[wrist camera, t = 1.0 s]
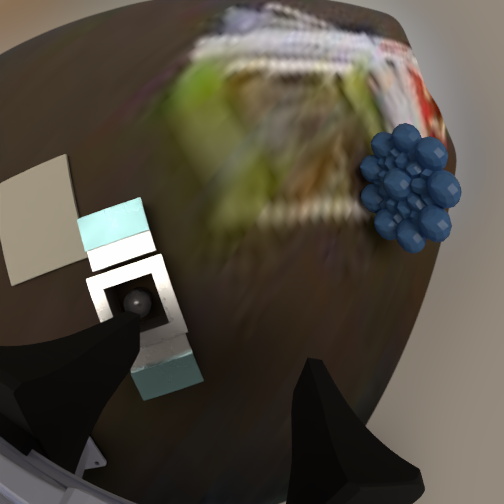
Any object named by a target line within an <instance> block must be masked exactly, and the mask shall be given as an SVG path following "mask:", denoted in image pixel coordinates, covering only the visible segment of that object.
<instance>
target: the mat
mask: <svg viewBox="0 0 504 504" xmlns="http://www.w3.org/2000/svg"><path fill="white" fill-rule="evenodd" d="M79 218H80V217H79V213H78V208H77V204H76V199H75V194H74V189H73V184H72V179H71V173H70V168H69V161H68V156H67V155H66V154H64V155H61V156H59V157H57V158H54V159H52V160H49V161H47V162H45V163H42V164H40V165H38V166H35V167H33V168H31V169H29V170H27V171H25V172H22V173H20V174H18V175H16V176H14V177H12V178H10V179H8V180H6V181H4V182H2V183H0V239H1V244H2V249H3V253H4V258H5V262H6V266H7V270H8V274H9V278H10V282H11V285H12V286H15V285H17V284H20V283H22V282H25V281H27V280H30V279H32V278H35V277H37V276H40V275H43V274H45V273H48V272H50V271H53V270H56V269H58V268H61V267H64V266H66V265H69V264H72V263H75V262H77V261H80V260H83V259H86V258H88V254H87V252H85V249H84V245H83V242H82V238H81V234H80V230H79V226H78V222H77V219H79Z"/></svg>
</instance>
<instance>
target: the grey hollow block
mask: <svg viewBox="0 0 504 504" xmlns="http://www.w3.org/2000/svg"><path fill="white" fill-rule="evenodd" d="M149 273H152V275H153V278H154V281H155V284H156V287H157V290H158V293H159V296H160V299H161V301H162V304H163V307H164V310H165V312H166V314H165V315H162V316H159V317H156V318H153V319H150V320H147V321H144V322H141V323H140V348H142V347H145V346H148V345H151V344H154V343H157V342H160V341H163V340H166V339H169V338H172V337H175V336H178V335H181V334H183V333H186V332H188V330H187V327H186V324H185V321H184V318H183V315H182V312H181V310H180V307H179V304H178V301H177V299H176V296H175V293H174V290H173V287H172V284H171V281H170V278H169V275H168V272H167V269H166V266H165V263H164V260H163V257H162V254H159V255H156V256H153V257H150V258H147V259H144V260H141V261H138V262H135V263H132V264H129V265H126V266H123V267H120V268H117V269H114V270H111V271H108V272H106V273H103V274H100V275H97V276H94V277H91V278H88V279H86V282H87V285H88V288H89V291H90V294H91V297H92V300H93V302H94V305H95V308H96V311H97V314H98V316H99V319H100V322H104V321H106V320H108V319H110V318H112V317H114V316H116V315H119V314H121V313H123V311H122V309H121V306H120V303H119V300H118V297H117V295H116V292H115V289H114V285H117V284H120V283H123V282H126V281H129V280H132V279H135V278H137V277H140V276H143V275H146V274H149Z"/></svg>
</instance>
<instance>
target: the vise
mask: <svg viewBox="0 0 504 504" xmlns="http://www.w3.org/2000/svg"><path fill="white" fill-rule="evenodd" d="M77 222H78V226H79V230H80V234H81V238H82V242H83V245H84V249H85V252H87V254H88V257H89V261H90V264H91V267H92V270H93V272H94V271H100V270H103V269H106V268H109V267H112V266H115V265H117V264H120V263H123V262H126V261H129V260H132V259H135V258H138V257H141V256H144V255H147V254H150V253H153V252H156V251H157V250H156V247H155V244H154V241H153V237H152V234H151V231H150V227H149V224H148V220H147V217H146V213H145V210H144V206H143V203H142V201H141V198H137V199H134V200H131V201H128V202H125V203H122V204H119V205H116V206H113V207H110V208H107V209H104V210H101V211H99V212H96V213H93V214H90V215H88V216H85V217H82V218H79V219H77ZM152 302H153V297H152V294H151V292H150V291H149V290H148V289H147V288H145V287H136V288H134V289H133V290H132V291H130V292H129V293H128V294H127V295H126V297H125V299H124V309H125V311H131V312H134V313H137V314H140V318H143V317H145V316H146V315H147V314H148V313H149V311H150V309H151V306H152ZM130 370H131V376H132V378H133V380H134V382H135V384H136V386H137V388H138V390H139V392H140V394H141V396H142V398H143V400H144V401H145V400H148V399H151V398H154V397H158V396H161V395H164V394H167V393H170V392H173V391H176V390H179V389H182V388H185V387H188V386H191V385H194V384H197V383H200V382H202V381H204V380H203V377H202V374H201V371H200V368H199V366H198V363H197V361H196V359H195V356H194V354H193V351H192V349H191V346H190V344H189V341H188V339H187V336H186V333H183V334H181V335H178V336H175V337H172V338H169V339H166V340H163V341H160V342H157V343H154V344H151V345H148V346H145V347H142V348H140V352H139V354H138V356H137V358H136V360H135V362H134V364H133V366H132V368H131V369H130Z"/></svg>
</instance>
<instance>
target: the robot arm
mask: <svg viewBox="0 0 504 504" xmlns="http://www.w3.org/2000/svg"><path fill="white" fill-rule="evenodd" d="M139 352H140V314H137V313H134V312H131V311H125V312H123V313H121V314H119V315H116V316H114V317H112V318H110V319H108V320H106V321H104V322H101V323H99V324H97V325H95V326H92V327H90V328H88V329H85V330H82V331H80V332H77V333H75V334H72V335H69V336H66V337H63V338H59V339H56V340H52V341H47V342H42V343H37V344H31V345H22V346H0V504H136V503H134V502H131V501H129V500H126V499H124V498H121V497H119V496H117V495H114V494H112V493H110V492H108V491H106V490H103V489H101V488H99V487H97V486H95V485H93V484H91V483H89V482H87V481H85V480H83V479H82V476H83V473H84V470H85V469H90V468H96V467H102V466H105V465H106V463H107V461H106V459H105V458H104V457H103V455H102V454H101V452H100V451H99V449H98V448H97V446H96V445H95V443H94V442H93V440H92V438H91V437H90V434H91V432H92V430H93V428H94V425H95V423H96V421H97V420H98V418H99V416H100V414H101V412H102V410H103V408H104V407H105V405H106V403H107V402H108V400H109V399H110V398H111V396H112V395H113V393H114V392H115V390H116V389H117V388H118V386H119V385H120V383H121V382H122V381H123V379H124V378H125V376H126V375H127V374H128V372H129V371H130V369H131V368H132V366H133V364H134V362H135V360H136V358H137V356H138V354H139ZM291 416H292V465H291V474H290V482H289V488H288V495H287V501H286V504H413V503H414V502H415V501H417V500H418V499H419V498H420V497H421V496H422V494H423V493H424V491H425V487H424V483H423V479H422V475H421V472H420V470H419V468H417V467H415V466H414V465H412V464H410V463H409V462H407V461H406V460H404V459H402V458H401V457H399V456H398V455H397V454H395V453H394V452H393V451H391V450H390V449H389V448H388V447H386V446H385V445H384V444H383V443H382V442H381V441H380V440H379V439H377V438H376V437H375V436H374V435H373V434H372V433H371V432H370V431H369V430H368V429H367V428H366V426H365V425H364V424H363V423H362V422H361V421H360V419H359V418H358V417H357V416H356V415H355V413H354V412H353V411H352V409H351V408H350V406H349V405H348V404H347V402H346V401H345V399H344V398H343V396H342V394H341V393H340V391H339V390H338V388H337V386H336V385H335V383H334V381H333V379H332V378H331V376H330V374H329V372H328V370H327V368H326V367H325V365H324V363H323V361H322V360H319V359H313V358H307V361H306V363H305V365H304V368H303V370H302V373H301V375H300V377H299V380H298V382H297V385H296V387H295V389H294V393H293V401H292V411H291ZM96 462H99V463H96Z"/></svg>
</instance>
